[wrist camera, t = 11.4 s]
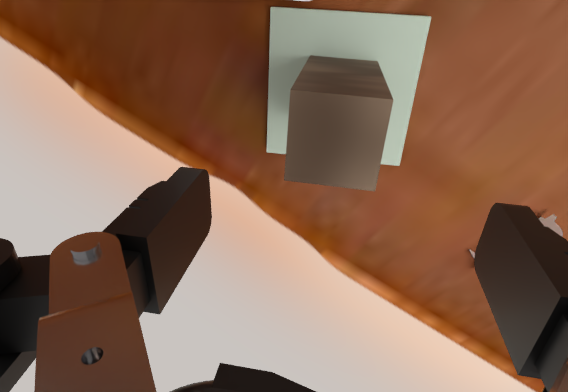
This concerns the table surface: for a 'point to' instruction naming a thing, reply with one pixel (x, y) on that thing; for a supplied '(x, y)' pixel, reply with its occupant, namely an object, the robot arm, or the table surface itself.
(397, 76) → the green mat
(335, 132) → the walnut block
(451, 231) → the table surface
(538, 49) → the table surface
